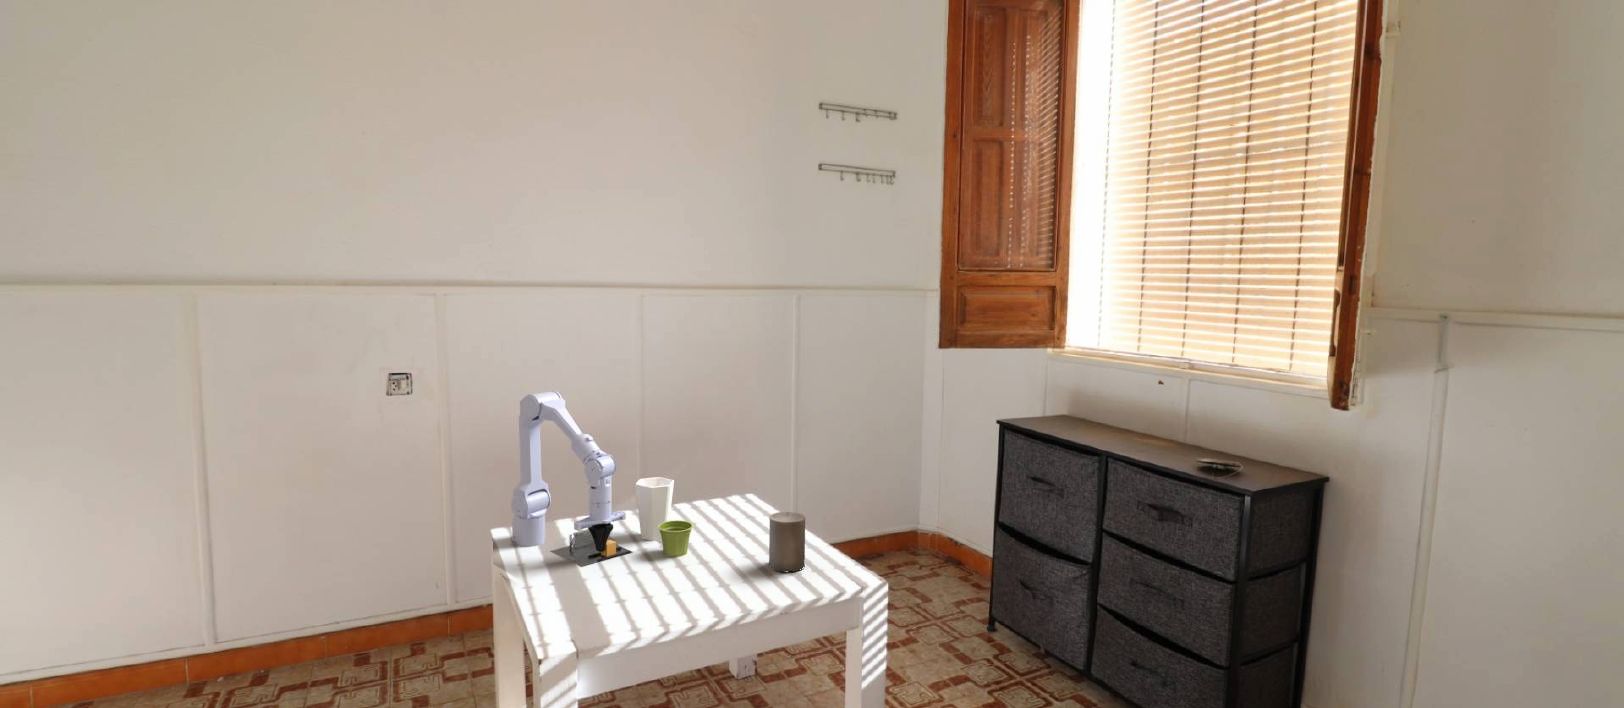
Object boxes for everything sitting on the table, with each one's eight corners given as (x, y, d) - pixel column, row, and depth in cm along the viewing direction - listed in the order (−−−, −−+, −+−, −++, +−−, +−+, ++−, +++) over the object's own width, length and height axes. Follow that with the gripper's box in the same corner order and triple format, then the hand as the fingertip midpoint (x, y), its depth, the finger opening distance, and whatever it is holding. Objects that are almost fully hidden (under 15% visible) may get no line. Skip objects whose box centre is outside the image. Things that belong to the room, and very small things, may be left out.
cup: (680, 538, 232) (681, 481, 230) (656, 548, 223) (656, 489, 221) (652, 531, 238) (653, 475, 236) (627, 540, 229) (628, 482, 227)
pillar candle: (812, 566, 212) (813, 511, 211) (786, 575, 205) (787, 519, 204) (786, 557, 219) (787, 504, 218) (760, 566, 212) (761, 511, 211)
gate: (574, 547, 218) (574, 533, 217) (572, 546, 219) (572, 532, 218) (596, 541, 223) (596, 528, 223) (594, 541, 224) (594, 527, 223)
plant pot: (685, 564, 212) (685, 532, 211) (652, 560, 214) (652, 529, 213) (697, 552, 221) (697, 522, 220) (665, 549, 223) (665, 519, 222)
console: (549, 554, 216) (549, 536, 215) (601, 541, 228) (601, 524, 227) (581, 570, 205) (581, 551, 205) (633, 555, 217) (633, 537, 216)
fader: (601, 554, 214) (601, 541, 213) (610, 552, 216) (610, 539, 215) (607, 557, 212) (607, 544, 211) (616, 554, 214) (616, 541, 213)
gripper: (584, 509, 202) (584, 561, 204) (632, 499, 213) (632, 548, 214) (569, 503, 207) (569, 554, 208) (617, 493, 218) (617, 541, 219)
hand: (600, 550), depth 212 cm, fingers closed
